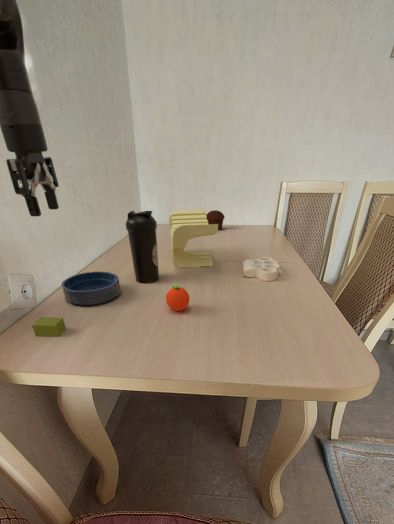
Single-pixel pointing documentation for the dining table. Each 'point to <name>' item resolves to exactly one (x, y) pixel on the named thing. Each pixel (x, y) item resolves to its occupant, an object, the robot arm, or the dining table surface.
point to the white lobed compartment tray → (262, 268)
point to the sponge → (49, 327)
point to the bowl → (91, 288)
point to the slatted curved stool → (189, 236)
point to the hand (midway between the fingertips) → (45, 212)
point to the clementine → (177, 298)
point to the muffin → (215, 218)
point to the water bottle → (143, 245)
